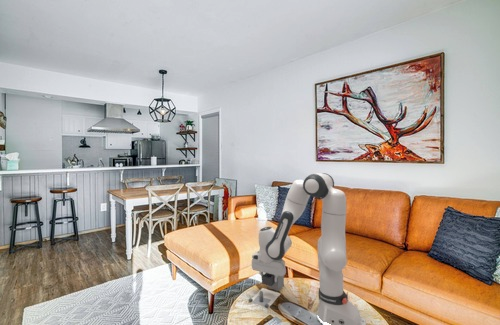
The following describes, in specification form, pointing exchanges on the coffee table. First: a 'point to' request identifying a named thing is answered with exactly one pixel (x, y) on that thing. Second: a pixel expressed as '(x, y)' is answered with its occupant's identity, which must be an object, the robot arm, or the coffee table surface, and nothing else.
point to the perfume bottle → (278, 284)
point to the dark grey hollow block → (268, 279)
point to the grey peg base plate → (264, 298)
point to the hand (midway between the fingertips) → (269, 280)
